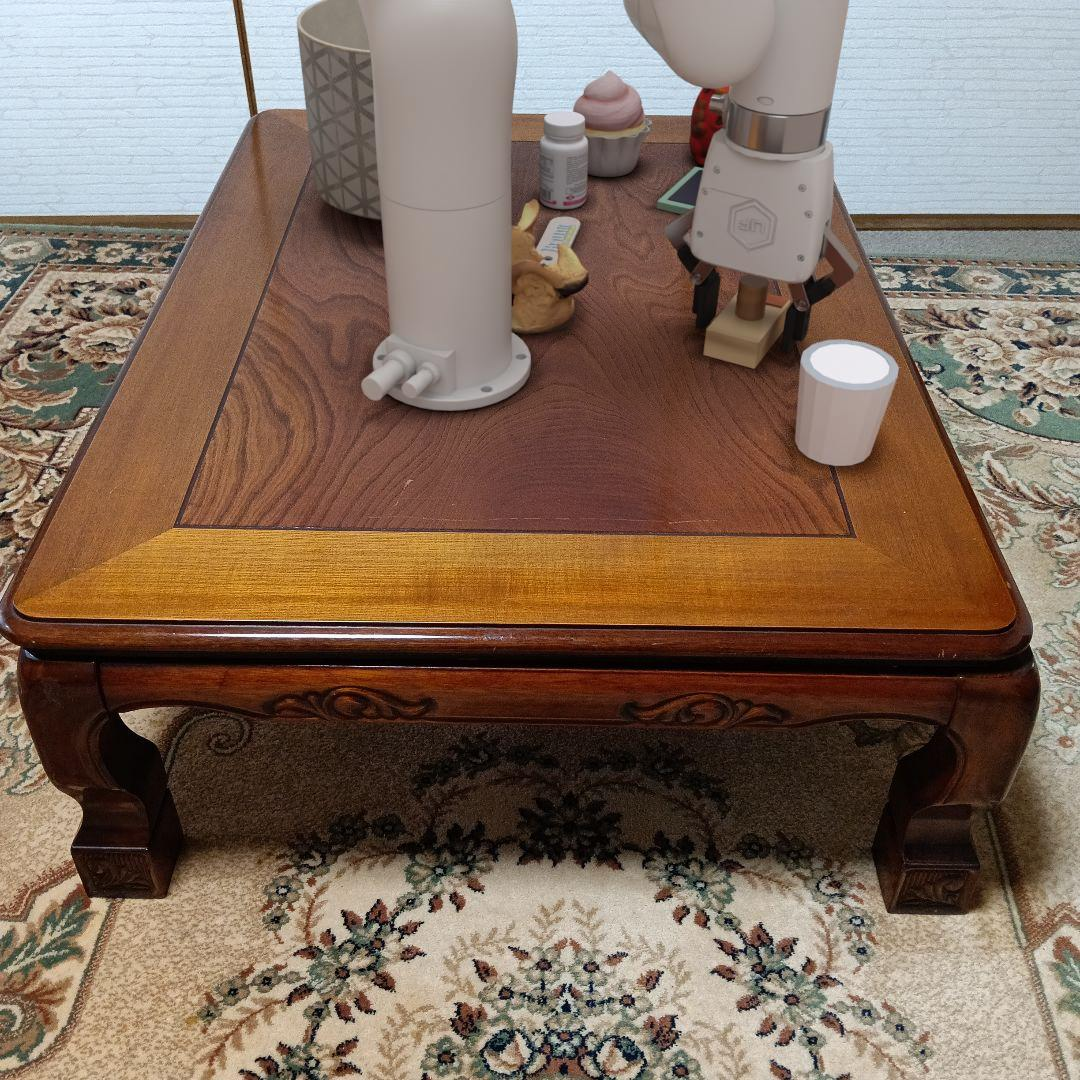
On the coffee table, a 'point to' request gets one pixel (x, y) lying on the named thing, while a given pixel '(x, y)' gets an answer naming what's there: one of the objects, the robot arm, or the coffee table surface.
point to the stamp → (747, 324)
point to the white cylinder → (842, 400)
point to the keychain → (557, 237)
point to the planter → (340, 106)
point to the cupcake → (612, 125)
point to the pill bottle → (563, 161)
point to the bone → (542, 280)
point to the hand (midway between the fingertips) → (747, 332)
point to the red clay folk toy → (704, 123)
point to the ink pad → (682, 193)
